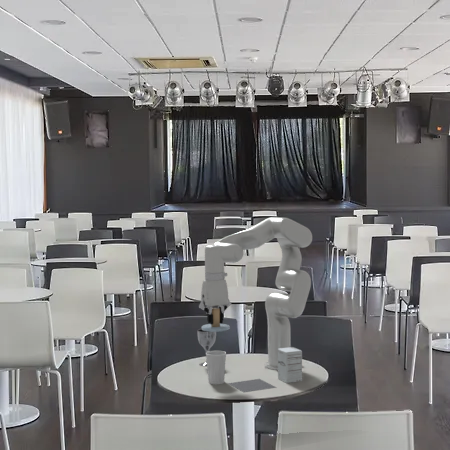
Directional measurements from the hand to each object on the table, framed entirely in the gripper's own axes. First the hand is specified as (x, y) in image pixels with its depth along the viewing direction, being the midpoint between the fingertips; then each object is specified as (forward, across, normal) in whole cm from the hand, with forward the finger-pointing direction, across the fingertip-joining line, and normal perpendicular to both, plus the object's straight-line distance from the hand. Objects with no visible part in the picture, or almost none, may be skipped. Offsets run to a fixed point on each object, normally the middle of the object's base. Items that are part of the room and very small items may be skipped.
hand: (215, 322), depth 305 cm
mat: (+24, -10, +11) cm, 28 cm away
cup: (+24, 0, 0) cm, 24 cm away
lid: (+2, 0, 0) cm, 2 cm away
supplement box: (+24, -27, +11) cm, 38 cm away
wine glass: (+24, -9, -29) cm, 39 cm away
